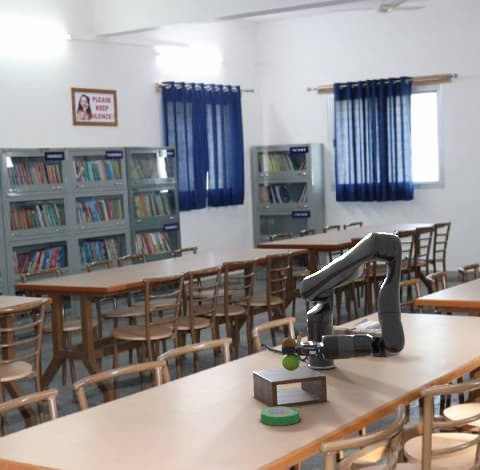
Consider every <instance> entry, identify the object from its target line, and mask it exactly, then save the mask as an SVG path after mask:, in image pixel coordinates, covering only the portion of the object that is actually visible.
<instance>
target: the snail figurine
mask: <svg viewBox="0 0 480 470" xmlns="http://www.w3.org/2000/svg"><path fill="white" fill-rule="evenodd" d="M296 340H297V341H296ZM296 340H295V339H294V338H292V337H285V338H284V339H283V340H282V342H281V349H282V348H283V347H294V348H295V346H300V343H301V342H302V332H301V331H299V335H297V337H296ZM296 343H297V344H296ZM300 361H301V360H300V359H299V358H298V356H297V355H295V354H285V355H283V357H282V360H281V364H282V368H285V369H286V370H288V371H294V370H296V369H297V368H298V367H299V366H300V363H301V362H300Z"/></svg>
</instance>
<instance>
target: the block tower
mask: <svg viewBox="0 0 480 470" xmlns="http://www.w3.org/2000/svg"><path fill="white" fill-rule="evenodd" d="M333 335H369V336H371V337H373V336H382V332H381V330H380V329H366V328H358V329H357V328H356V327H351V326H344V325H343V326H342V325H340V326H339V325H333Z"/></svg>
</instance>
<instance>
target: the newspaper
mask: <svg viewBox="0 0 480 470" xmlns="http://www.w3.org/2000/svg"><path fill="white" fill-rule="evenodd" d="M350 327H356V328H357V329H358V328H366V329H380V330H381V324H380V323H379V320H378V321H376V320H369V319H367V318H365V319H362V320H360V321H359V322H357V323H354V324H353V325H351V326H350Z"/></svg>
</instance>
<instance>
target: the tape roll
mask: <svg viewBox="0 0 480 470" xmlns="http://www.w3.org/2000/svg"><path fill="white" fill-rule="evenodd" d="M299 421H300V410H299V409H298V408H296V407H294V406H288V407H285V406H277V407H270V406H268V407H266V408H263V409H261V411H260V422H261V423H263V424H265V425H268V426H289V425H290V426H291V425H293V424H294V425H295V424H296V423H298V422H299Z"/></svg>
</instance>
